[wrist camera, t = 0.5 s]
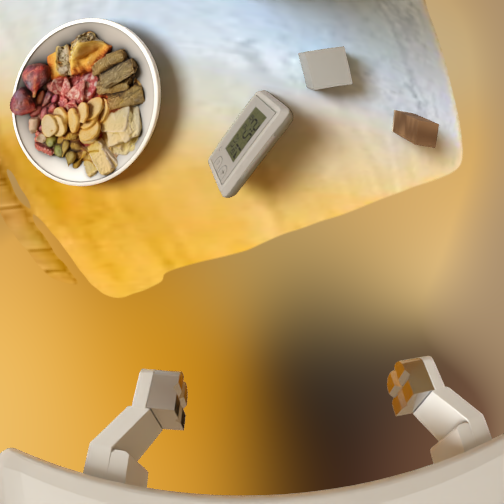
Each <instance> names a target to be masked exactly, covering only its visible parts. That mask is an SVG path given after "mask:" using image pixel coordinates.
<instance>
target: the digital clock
mask: <svg viewBox="0 0 504 504" xmlns="http://www.w3.org/2000/svg"><path fill="white" fill-rule="evenodd" d="M292 120H293V114H292V112H291V110H290V109H289V108H288V107H286V106H285V105H284V104H283V103H281V102H280V101H279V100H278V99H276V98H275V97H274V96H272V95H271V94H270V93H269V92H267V91H265V90H263V91H258V92H256V93H255V95H254V96H253V97H252V98H251V100H250V101H249V102H248V104H247V105H246V106H245V108H244V109H243V110H242V112H241V113H240V115H239V116H238V117H237V119H236V120H235V121H234V123H233V124H232V126H231V127H230V128H229V130H228V131H227V133H226V134H225V135H224V137H223V138H222V140H221V141H220V143H219V144H218V146H217V147H216V148H215V150H214V151H213V153H212V154H211V156H210V158H209V160H208V163H209V166H210V168H211V170H212V173H213V175H214V178H215V180H216V183H217V185H218V188H219V190H220V192H221V194H222V196H223V197H226V198H230V197H232V196H234V195H236V194H237V192H238V191H239V190H240V188H241V187H242V186H243V185H244V183H245V182H246V181H247V179H248V178H249V177H250V175H251V174H252V173H253V171H254V170H255V169H256V167H257V166H258V165H259V164H260V162H261V161H262V160H263V158H264V157H265V156H266V154H267V153H268V152H269V151H270V149H271V148H272V147H273V145H274V144H275V143H276V142H277V140H278V139H279V138H280V136H281V135H282V134H283V133H284V131H285V130H286V129H287V127H288V126H289V125H290V123H291V122H292Z"/></svg>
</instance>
